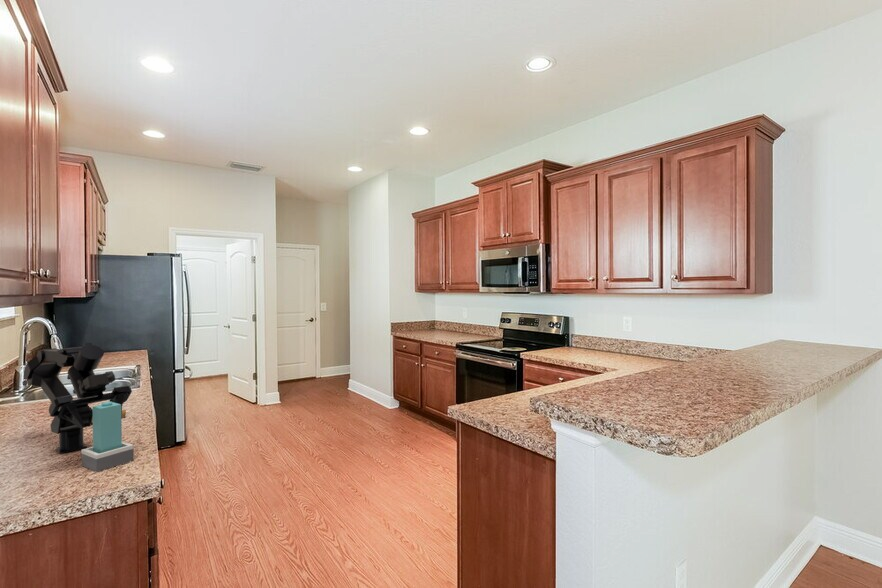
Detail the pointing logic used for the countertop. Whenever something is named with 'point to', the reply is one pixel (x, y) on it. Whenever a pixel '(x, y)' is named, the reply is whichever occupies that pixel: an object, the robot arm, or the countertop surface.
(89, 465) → the tower base
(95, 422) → the tall brick
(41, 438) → the countertop surface
